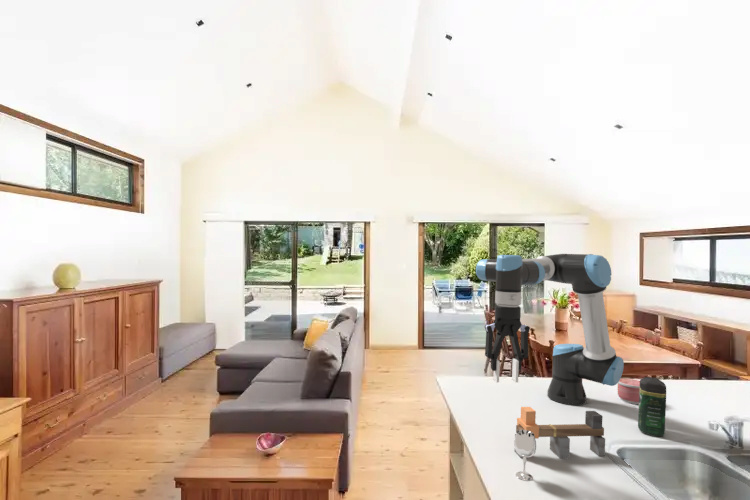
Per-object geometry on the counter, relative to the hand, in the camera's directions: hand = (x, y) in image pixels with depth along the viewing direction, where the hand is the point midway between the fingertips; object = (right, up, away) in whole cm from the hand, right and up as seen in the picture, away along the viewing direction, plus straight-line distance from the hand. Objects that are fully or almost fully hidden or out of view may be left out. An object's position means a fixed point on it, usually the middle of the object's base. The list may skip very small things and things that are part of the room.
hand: (505, 380), depth 129 cm
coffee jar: (+58, -24, +20) cm, 66 cm away
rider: (+7, -17, +1) cm, 18 cm away
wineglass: (+2, -23, -12) cm, 26 cm away
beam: (+17, -23, +2) cm, 29 cm away
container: (+69, -24, +50) cm, 89 cm away
